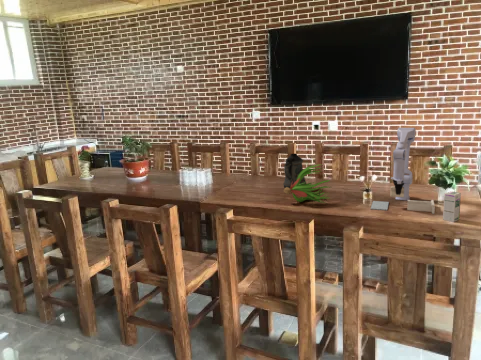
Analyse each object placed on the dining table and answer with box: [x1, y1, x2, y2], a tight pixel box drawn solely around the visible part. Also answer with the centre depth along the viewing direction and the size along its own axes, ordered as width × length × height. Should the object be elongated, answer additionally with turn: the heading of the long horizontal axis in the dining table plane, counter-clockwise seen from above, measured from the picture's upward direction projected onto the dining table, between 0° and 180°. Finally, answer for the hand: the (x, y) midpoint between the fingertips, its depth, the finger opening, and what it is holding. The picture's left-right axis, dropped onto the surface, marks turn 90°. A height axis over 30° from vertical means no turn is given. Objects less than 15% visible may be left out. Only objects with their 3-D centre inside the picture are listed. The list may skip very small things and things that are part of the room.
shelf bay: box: [406, 199, 436, 215], centre depth 223 cm, size 16×14×4 cm
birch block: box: [389, 185, 404, 198], centre depth 226 cm, size 4×7×5 cm, turn 72°
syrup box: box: [442, 190, 462, 223], centre depth 202 cm, size 6×6×14 cm
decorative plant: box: [283, 162, 332, 205], centre depth 247 cm, size 26×25×30 cm
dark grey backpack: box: [282, 153, 307, 190], centre depth 280 cm, size 16×19×25 cm
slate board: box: [370, 200, 390, 211], centre depth 232 cm, size 16×9×1 cm, turn 157°
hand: (397, 193), depth 227 cm, fingers closed on birch block, 4 cm apart
